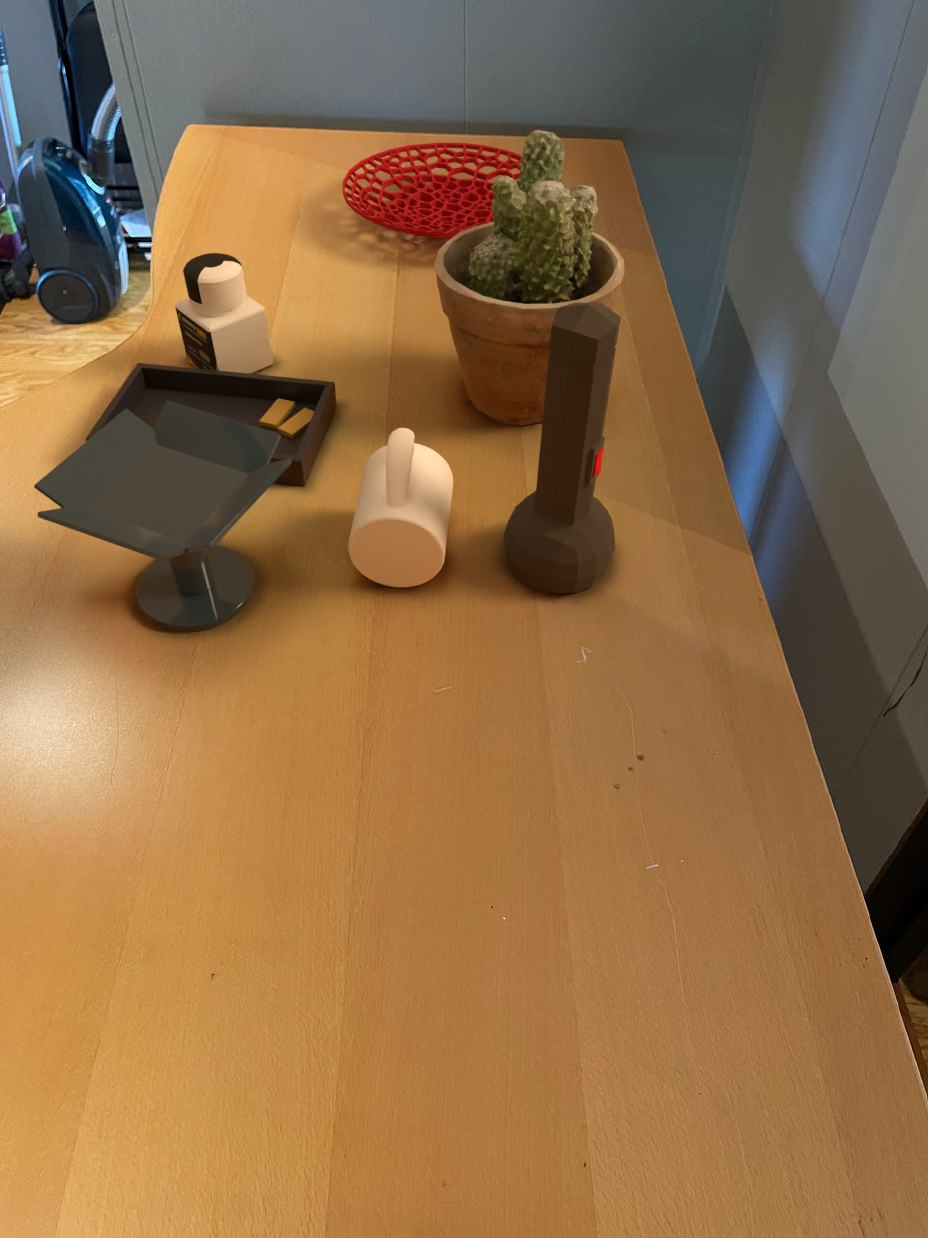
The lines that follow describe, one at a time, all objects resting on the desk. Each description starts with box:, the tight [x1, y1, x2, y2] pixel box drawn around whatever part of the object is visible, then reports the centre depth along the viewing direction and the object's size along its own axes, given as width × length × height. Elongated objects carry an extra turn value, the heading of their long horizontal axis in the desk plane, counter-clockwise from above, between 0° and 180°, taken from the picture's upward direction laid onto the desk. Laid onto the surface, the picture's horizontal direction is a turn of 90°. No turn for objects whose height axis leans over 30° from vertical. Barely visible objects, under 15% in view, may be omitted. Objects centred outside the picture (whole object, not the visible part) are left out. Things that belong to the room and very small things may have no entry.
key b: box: [278, 408, 314, 439], centre depth 97 cm, size 4×2×1 cm, turn 147°
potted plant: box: [433, 129, 626, 427], centre depth 93 cm, size 18×19×25 cm
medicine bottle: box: [174, 252, 274, 374], centre depth 101 cm, size 7×7×12 cm
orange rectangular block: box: [259, 398, 295, 429], centre depth 98 cm, size 4×2×1 cm, turn 161°
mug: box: [347, 427, 454, 588], centre depth 81 cm, size 8×10×12 cm
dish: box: [33, 401, 292, 633], centre depth 77 cm, size 16×16×13 cm
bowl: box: [341, 141, 522, 239], centre depth 129 cm, size 29×30×5 cm
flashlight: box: [503, 303, 622, 595], centre depth 76 cm, size 10×25×10 cm
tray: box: [85, 362, 338, 487], centre depth 96 cm, size 22×14×3 cm, turn 82°
